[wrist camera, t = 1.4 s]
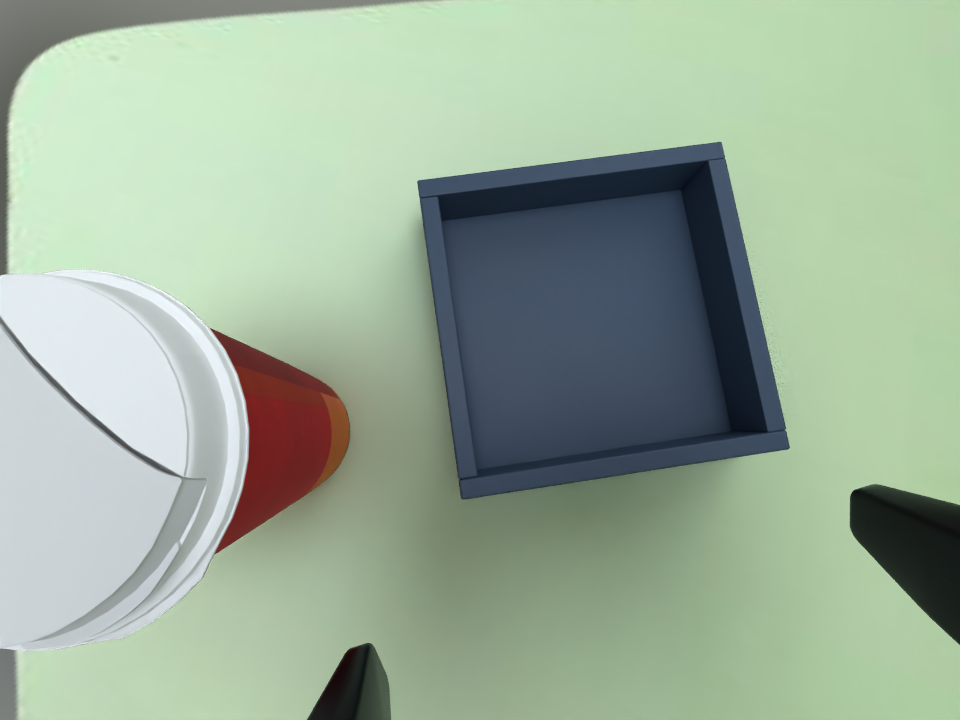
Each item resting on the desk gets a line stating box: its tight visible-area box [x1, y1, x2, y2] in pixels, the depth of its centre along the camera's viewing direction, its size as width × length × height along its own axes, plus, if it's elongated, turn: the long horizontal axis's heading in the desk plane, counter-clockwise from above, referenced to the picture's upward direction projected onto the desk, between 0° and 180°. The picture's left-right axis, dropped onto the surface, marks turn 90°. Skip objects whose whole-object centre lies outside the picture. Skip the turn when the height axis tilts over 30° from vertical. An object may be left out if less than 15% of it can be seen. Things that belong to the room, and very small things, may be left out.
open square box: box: [417, 142, 790, 499], centre depth 21 cm, size 14×14×4 cm
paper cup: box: [0, 270, 350, 651], centre depth 15 cm, size 8×8×14 cm
